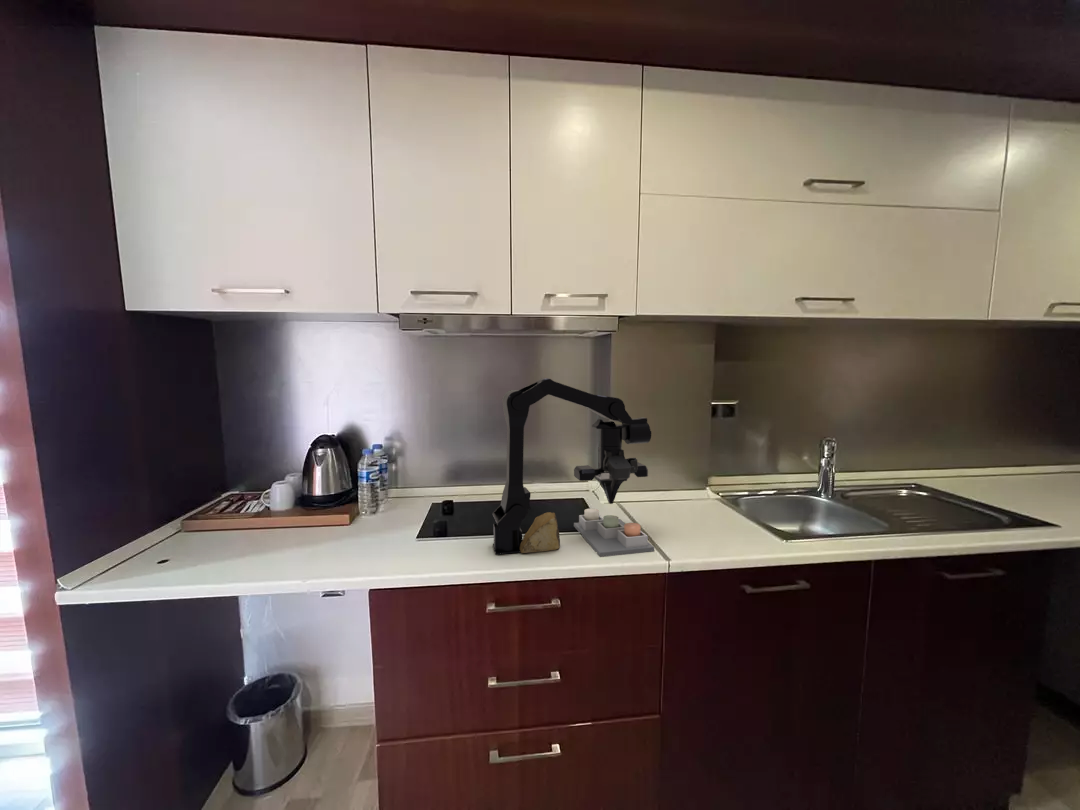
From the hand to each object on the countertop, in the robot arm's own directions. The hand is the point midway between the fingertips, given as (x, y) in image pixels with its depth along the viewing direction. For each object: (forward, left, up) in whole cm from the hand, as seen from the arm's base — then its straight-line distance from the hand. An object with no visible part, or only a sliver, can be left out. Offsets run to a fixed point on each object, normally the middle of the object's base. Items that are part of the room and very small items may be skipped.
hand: (610, 503), depth 120 cm
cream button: (-3, +7, -7) cm, 10 cm away
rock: (-20, -3, -9) cm, 22 cm away
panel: (0, 0, -9) cm, 9 cm away
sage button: (0, 0, -7) cm, 7 cm away
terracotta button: (+3, -7, -7) cm, 10 cm away
